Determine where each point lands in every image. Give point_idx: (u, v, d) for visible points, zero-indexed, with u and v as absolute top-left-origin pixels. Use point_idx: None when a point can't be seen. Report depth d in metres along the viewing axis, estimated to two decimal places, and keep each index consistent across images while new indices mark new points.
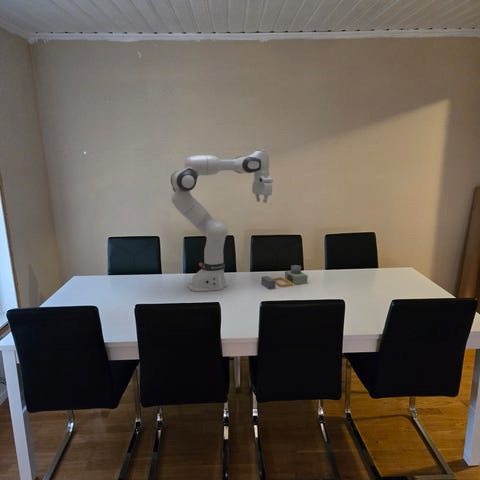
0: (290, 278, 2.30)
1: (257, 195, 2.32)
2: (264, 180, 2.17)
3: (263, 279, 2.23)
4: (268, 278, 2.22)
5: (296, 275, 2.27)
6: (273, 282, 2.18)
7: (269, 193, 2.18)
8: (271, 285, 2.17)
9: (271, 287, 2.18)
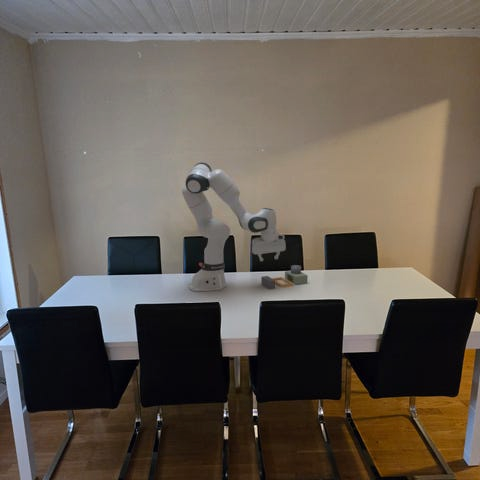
0: (290, 278, 2.30)
1: None
2: None
3: (263, 279, 2.23)
4: (268, 278, 2.22)
5: (296, 275, 2.27)
6: (273, 282, 2.18)
7: None
8: (271, 285, 2.18)
9: (271, 287, 2.18)
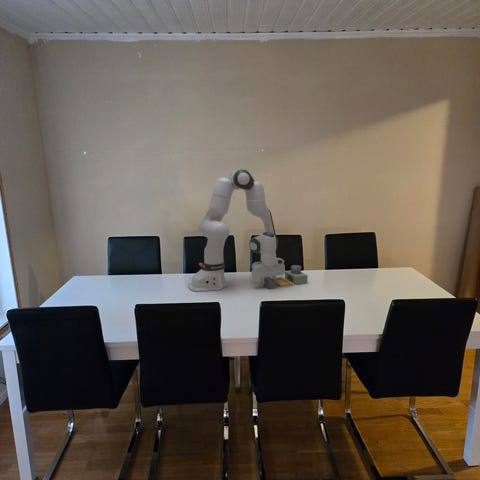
0: (290, 278, 2.30)
1: (263, 278, 2.20)
2: None
3: (263, 279, 2.23)
4: (268, 278, 2.22)
5: (296, 275, 2.27)
6: (273, 282, 2.18)
7: None
8: (270, 284, 2.17)
9: (271, 287, 2.18)
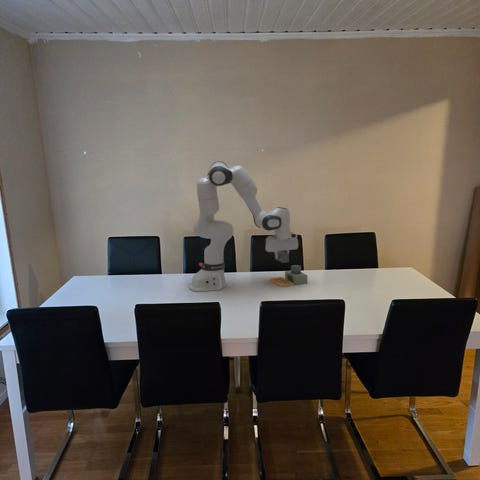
0: (290, 278, 2.30)
1: None
2: None
3: None
4: (281, 252, 2.25)
5: (296, 275, 2.27)
6: (287, 255, 2.21)
7: None
8: (284, 258, 2.21)
9: (285, 260, 2.21)
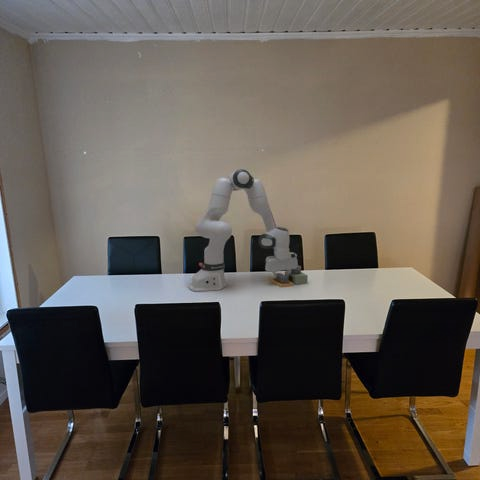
0: (290, 278, 2.30)
1: (275, 272, 2.26)
2: None
3: None
4: (281, 275, 2.28)
5: (296, 275, 2.27)
6: (286, 279, 2.24)
7: None
8: (284, 281, 2.24)
9: None
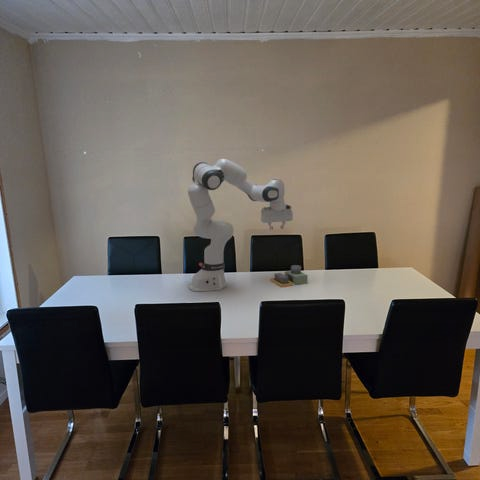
0: (290, 278, 2.30)
1: (270, 223, 2.31)
2: None
3: (276, 276, 2.29)
4: (281, 275, 2.28)
5: (296, 275, 2.27)
6: (286, 279, 2.24)
7: None
8: (284, 281, 2.24)
9: None
